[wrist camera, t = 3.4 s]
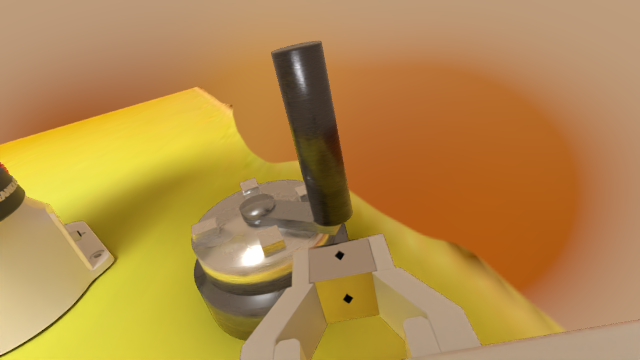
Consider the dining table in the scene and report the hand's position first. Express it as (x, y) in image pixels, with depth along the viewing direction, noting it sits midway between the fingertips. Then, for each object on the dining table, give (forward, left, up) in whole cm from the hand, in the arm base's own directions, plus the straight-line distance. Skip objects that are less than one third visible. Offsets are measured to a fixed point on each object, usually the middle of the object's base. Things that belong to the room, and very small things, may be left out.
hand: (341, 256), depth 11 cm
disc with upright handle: (-15, +3, -11) cm, 19 cm away
